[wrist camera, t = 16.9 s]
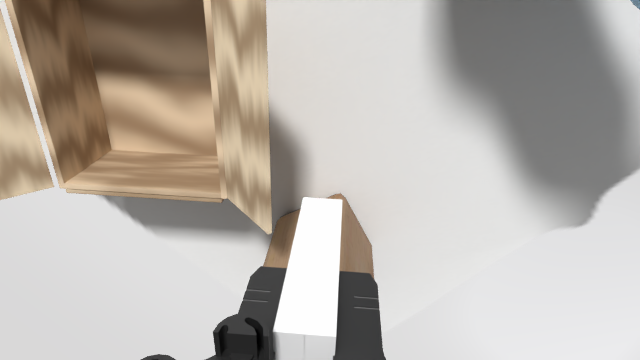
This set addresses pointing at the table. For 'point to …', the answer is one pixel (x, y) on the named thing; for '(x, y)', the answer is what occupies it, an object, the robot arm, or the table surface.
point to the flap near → (244, 104)
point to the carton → (126, 95)
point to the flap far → (18, 131)
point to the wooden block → (351, 246)
